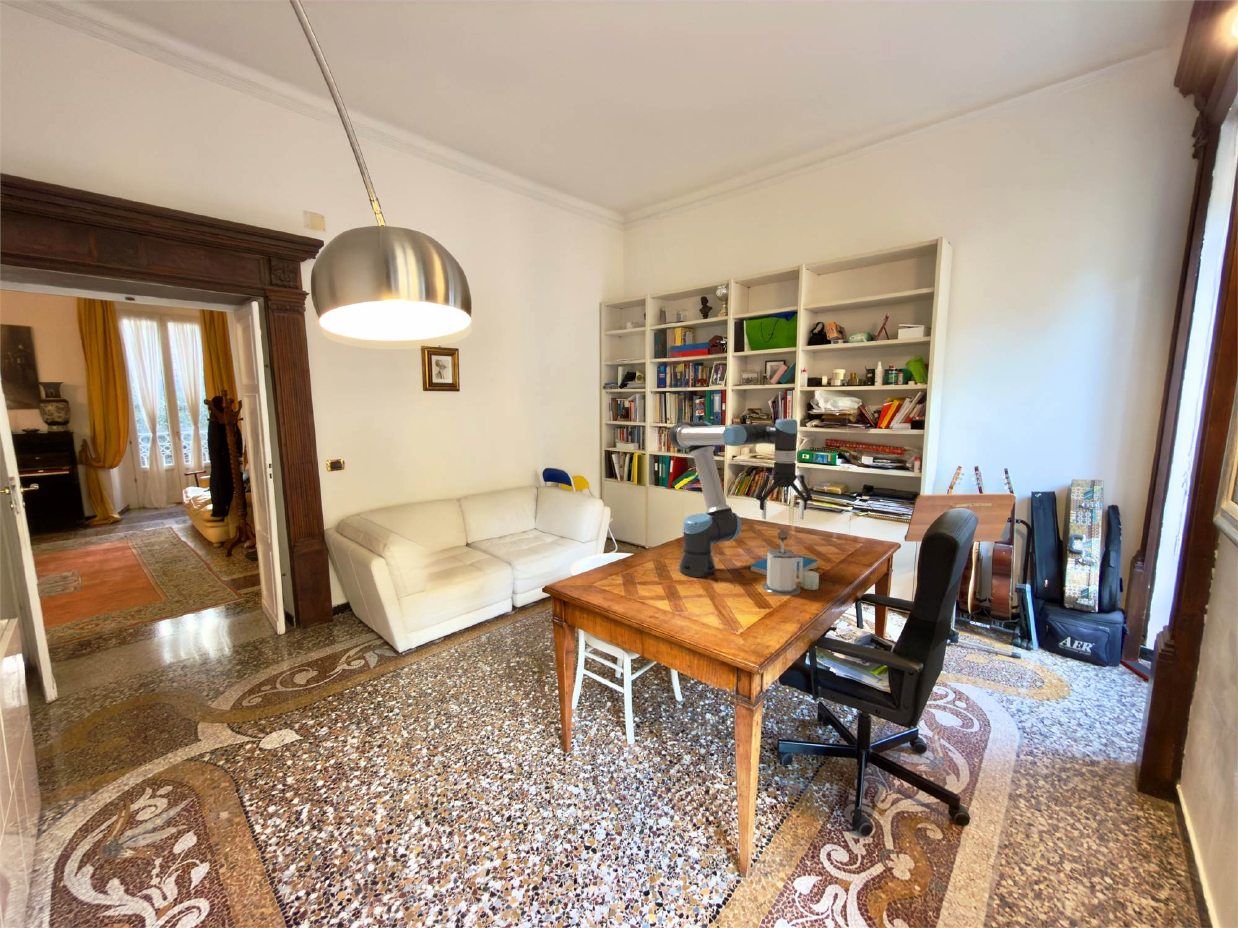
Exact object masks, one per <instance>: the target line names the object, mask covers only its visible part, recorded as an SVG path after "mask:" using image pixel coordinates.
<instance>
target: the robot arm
mask: <svg viewBox="0 0 1238 928" xmlns="http://www.w3.org/2000/svg"><path fill="white" fill-rule="evenodd" d="M798 432H799V430H798V421H797V420H796V419H794V418H778V419H776V420H775V423H764V422H754V423H749V424H747V423H746V424H731V425H730V424H727V425H714V424H712V423H710V422H708V421H693V422H692V421H691V422H689V421H688V422H678V423H676V424H673V426H672V427H671V428H670V429H669V431H668V441H669V444H670V445H672V446H673V447H674V448H675V449H679V450H688V454H689V455H690V456H691V457H693V459H694V463H695V467H696V471H697V474H698V475H697V476H698V479H699V482H700V485H701V486H700V487H701V490H702V495H703V498H704V502H705V506H706V511H705V513H695V514H690V515H689V516H686V518H684V521H683V527H682V532H683V553H682V556H681V560H680V561H679V565H678V567H679V568H678V569H679V572H680V573H681V574H683V575H685V576H687V577H692V578H705V577H710V576H713V575H715V573H716V571H717V569H716V568H717V567H716V563H715V559H714V557H713V554H712V550H713V549H712V545H715V544H719V543H724V542H730V541H733V540H735V539H736V538H738V537H739V536H740V534H741V531H742V520H741V518H740V517H739V515H738V514H737V513H736V512H733V510H732V507H731V506H729V504H727V501H726V497H725V493H724V490H723V486H722V482H721V479H720V476H719V472H718V468H717V464H716V459H715V456H714V453H713V452H714V451H715V448H716V447H715V446H729V447H731V446H732V447H740V446H745V445H746V446H748V445H758V444H768V445H774V456H773V458H774V459H773V460H774V463H773V474H772V475H771V474H770V475H769V474H768V473H767V474H764V478H763V481H762V482H761V484H760V486H759V489H758V490H757V492H756V494H755V495H754V498H755V499H756V500H757V501H759V509H760V511H762V512H761V518H762V519H763V520H767V501H766V500H767V499H768V498H769V496H771V494H772V493H774V491H776V489H778V487H779V488H790V487H791V488H792V489H793V490H794V492H795V493H796V494H797V495H798V497H799V498H800V499H801V500H799V509H798V512H799V513H798V518H799V519H800V520H804V517H805V511H806V510H807V505H808V502H809V501H811V500H813V496H812V494H811V491H810V490H809V487H808V485H807V483H806V481H805V480H806V479H805V474H801V473H800V474H797V475H796V470H797V467H796V466H797V464H796V461H797V443H798ZM772 480H773V482H772V483H771V485H770V486H769V487H767V486H768V485H769V484H770V483H769V482H771V481H772ZM796 480H797V482H799V484H800V486H801V488H802V490H803V492H802V491H801V489H800V488H798V486H797V484H795V482H796ZM766 489H767V490H766ZM804 494H805V495H804Z"/></svg>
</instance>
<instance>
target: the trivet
mask: <svg viewBox="0 0 1238 928" xmlns="http://www.w3.org/2000/svg"><path fill="white" fill-rule="evenodd" d="M761 588H762V590H764V591H765V592H767V593H770V594H773V595H778V596H795V595H799V594H800V593H801V591H802V589H801V588H802V587H800V586H798V585H797V584H796V591H794V592H792V593H777V592H774V591H771V590H769V589H768V588H767V581H765V582H763V583H762V584H761Z"/></svg>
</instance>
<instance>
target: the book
mask: <svg viewBox="0 0 1238 928" xmlns="http://www.w3.org/2000/svg"><path fill="white" fill-rule="evenodd" d="M796 555H797V558H803V571H811V570H812V569H813V570H814V569H817V566H818V559H815V558H811V557H807V556H804V555H803V556H802V555H799V554H796ZM749 571H751V572H754V573H757V574H761V575H764V576H767V557H765V558H762V559H760V560H759V561H758V560H757V561H756V562H754V563H752V564H750V566H749ZM797 577H799V561H797Z"/></svg>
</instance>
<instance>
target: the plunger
mask: <svg viewBox="0 0 1238 928" xmlns="http://www.w3.org/2000/svg"><path fill="white" fill-rule="evenodd" d="M777 539H779V540H780V549H781V554H784V549H785V540H788V539H789V529H787V528H786V529H785V528H779V529H778V530H777Z"/></svg>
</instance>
